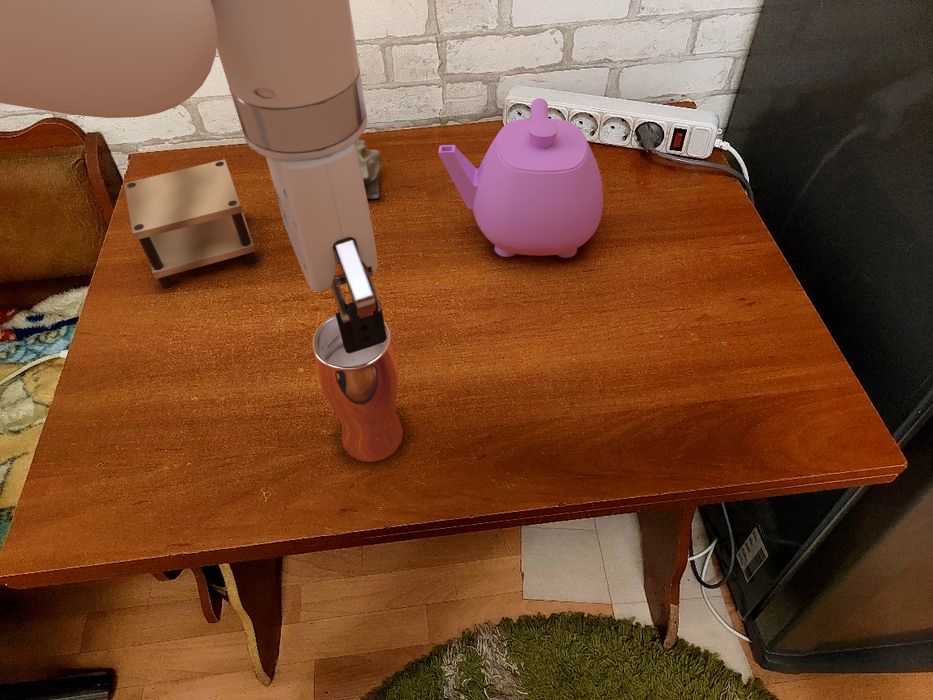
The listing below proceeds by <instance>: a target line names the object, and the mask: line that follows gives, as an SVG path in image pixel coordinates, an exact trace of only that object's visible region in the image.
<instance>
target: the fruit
mask: <svg viewBox="0 0 933 700" xmlns="http://www.w3.org/2000/svg"><path fill="white" fill-rule="evenodd" d="M355 144H356V149H357V153H358V158H359V163H360V167H361V171H362V172H363V181H364V186H365V191H366V196H367V199H371V200H378V199H379V197H380V188H379V187H380V174H381V169H382V153H381V151H379V150H378V149H369V148H368V147H367V142H366V140H363V139H361V140H360V138H359V139H358V140H356V141H355Z"/></svg>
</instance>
